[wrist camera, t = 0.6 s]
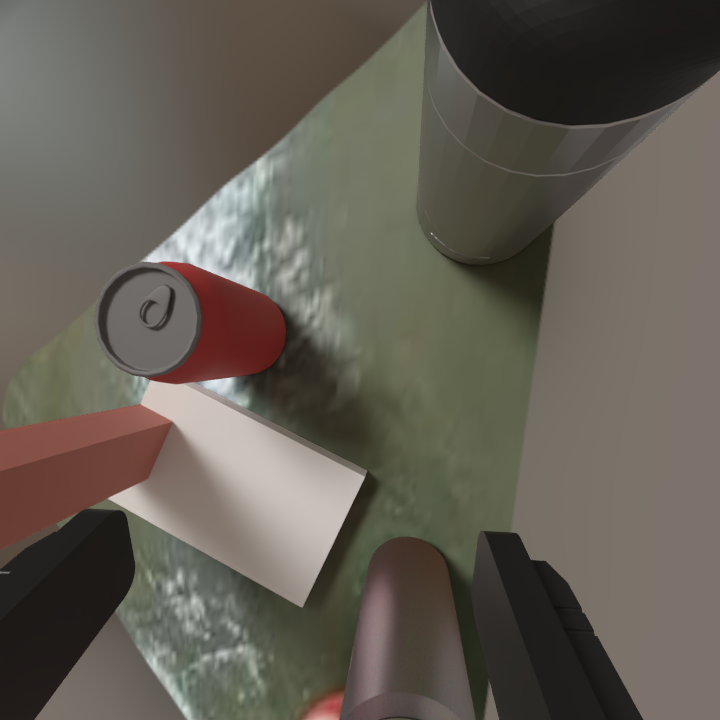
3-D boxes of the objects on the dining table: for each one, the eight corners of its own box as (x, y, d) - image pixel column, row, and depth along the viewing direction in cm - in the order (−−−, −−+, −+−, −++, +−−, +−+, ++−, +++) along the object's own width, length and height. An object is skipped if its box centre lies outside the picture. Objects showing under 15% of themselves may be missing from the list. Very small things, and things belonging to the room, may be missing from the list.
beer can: (304, 320, 30) (235, 298, 18) (259, 391, 30) (163, 415, 18) (237, 274, 30) (126, 224, 19) (194, 344, 31) (59, 339, 19)
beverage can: (453, 609, 29) (501, 883, 14) (374, 612, 29) (338, 877, 15) (442, 529, 29) (479, 718, 14) (363, 535, 29) (318, 720, 15)
